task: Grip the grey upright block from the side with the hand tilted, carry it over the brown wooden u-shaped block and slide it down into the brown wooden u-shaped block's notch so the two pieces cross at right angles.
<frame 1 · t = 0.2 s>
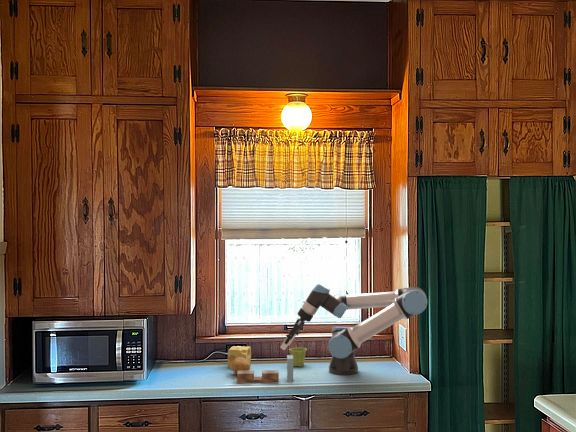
hand: (284, 346, 331), 15 cm above the worktop, tool tilted 35°, fingers open, 13 cm apart
brown wooden u-shaped block: (258, 381, 321), on the worktop
plant pot: (298, 365, 353), on the worktop
grey upright block: (290, 379, 325), on the worktop
potato: (241, 374, 335), on the worktop
cheese: (239, 366, 352), on the worktop
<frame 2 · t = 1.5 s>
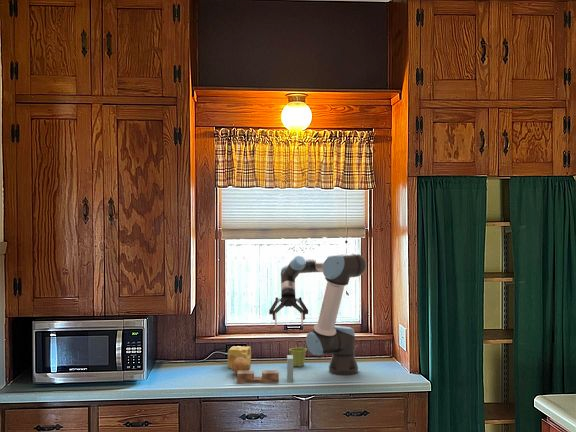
hand: (289, 324, 337), 25 cm above the worktop, tool tilted 45°, fingers open, 13 cm apart
nothing on the worktop moved.
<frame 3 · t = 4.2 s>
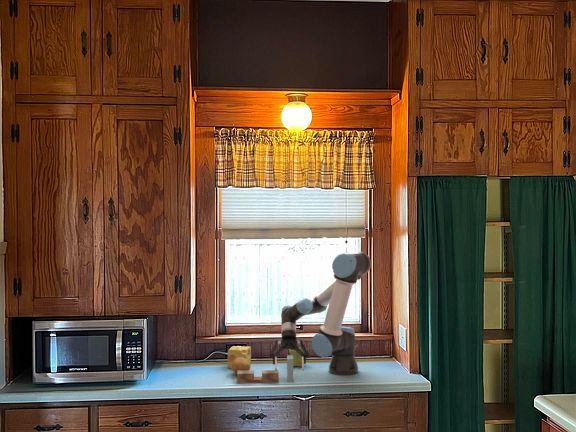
hand: (289, 369, 324), 5 cm above the worktop, tool tilted 45°, fingers open, 13 cm apart
nothing on the worktop moved.
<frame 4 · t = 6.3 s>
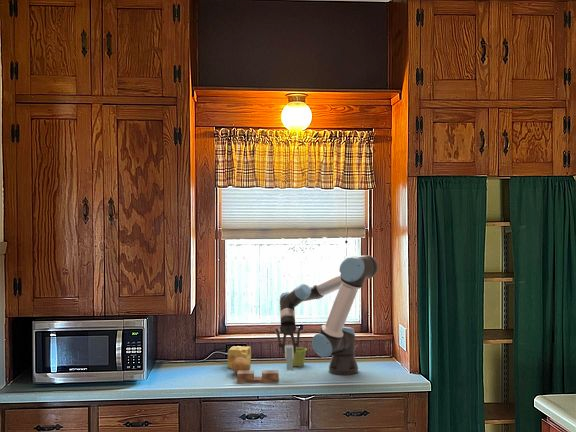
hand: (289, 358, 323), 11 cm above the worktop, tool tilted 45°, fingers closed on grey upright block, 3 cm apart
grey upright block: (289, 368, 324), point 5 cm above the worktop, touching gripper
everything else where it was.
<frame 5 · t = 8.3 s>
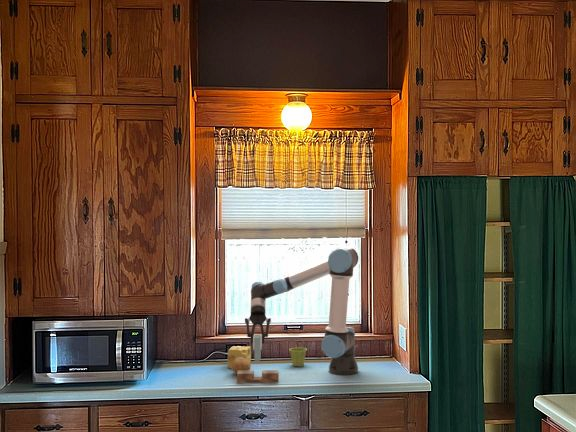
hand: (257, 348, 319), 17 cm above the worktop, tool tilted 45°, fingers closed on grey upright block, 3 cm apart
grey upright block: (257, 358, 320), point 11 cm above the worktop, touching gripper
everything else where it was.
when the fingers open (6 cm above the worktop, at t = 10.7 s): grey upright block stays where it is, resting on brown wooden u-shaped block.
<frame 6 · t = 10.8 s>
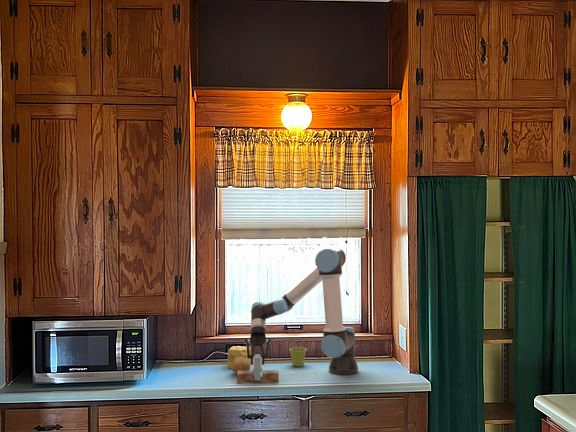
hand: (257, 369, 319), 6 cm above the worktop, tool tilted 45°, fingers open, 3 cm apart
grey upright block: (257, 378, 321), point 2 cm above the worktop, touching brown wooden u-shaped block
everything else where it was.
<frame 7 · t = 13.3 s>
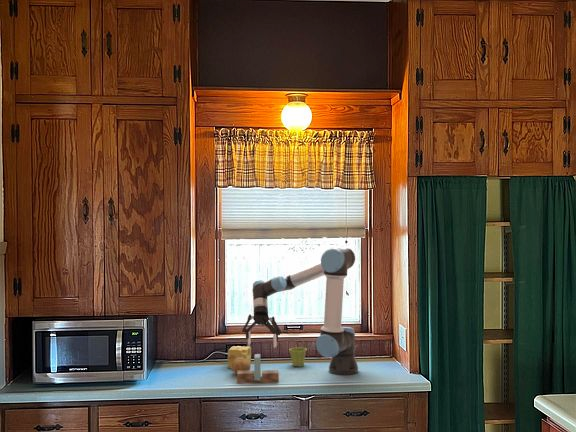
hand: (262, 345, 331), 15 cm above the worktop, tool tilted 40°, fingers open, 13 cm apart
nothing on the worktop moved.
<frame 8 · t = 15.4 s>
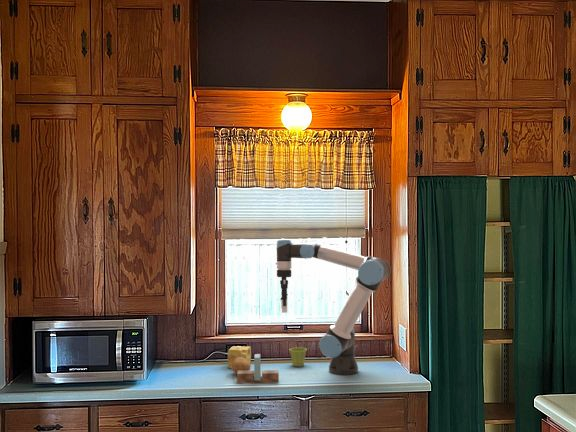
hand: (284, 310, 339), 32 cm above the worktop, tool pointing down, fingers open, 13 cm apart
nothing on the worktop moved.
at the end: grey upright block 0.5 cm off-centre on the brown wooden u-shaped block, point 1.5 cm above the brown wooden u-shaped block's base; grey upright block tilted 0°; the gripper is holding nothing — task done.
